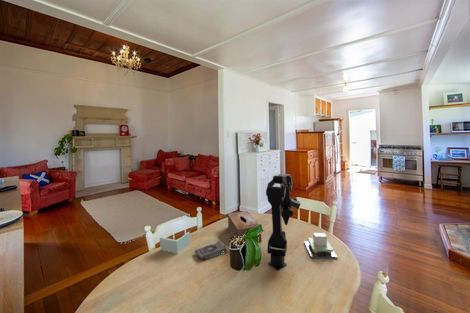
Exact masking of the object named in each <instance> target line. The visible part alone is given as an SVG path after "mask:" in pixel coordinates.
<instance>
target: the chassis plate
mask: <svg viewBox="0 0 470 313" xmlns="http://www.w3.org/2000/svg"><path fill="white" fill-rule="evenodd" d="M304 245H305V248H306V250H307V252H308V255H309V256H310V258H311V259H325V260H328V259H329V260H331V259H333V260H334V259H335V260H338V255H337V254H336V252H335V251H334V250H333V252H327V251H313V250H312V248H311V245H310V243H309V241H304Z"/></svg>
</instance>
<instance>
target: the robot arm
mask: <svg viewBox="0 0 470 313" xmlns="http://www.w3.org/2000/svg"><path fill="white" fill-rule="evenodd" d="M276 184H277V185H281V186H275V185H276ZM293 184H294V182H293V177H292V175H291V174H288V173H287V174H285V173H279V174H277V175H273V177H272V179H271V180H270V181H269V182H268V183H267V185H266V190H265V195H266V199H267V202H268V203H269V204H270V206H271V222H272V231H271V233H270V237H269V238H268V241H267V254H269V255H270V261H269V262H268V263H267V264H268V265H269V266H270V267H272V268H274V269H275V270H277V271H279V270H280V269H283V268H284V267H286V266H288V264H287V262H285V257H286V256H287V252H288V251H287V250H288V240H287V237H286V236H287V234H286V232H285V230H284V231H283V223H284V225H285V226H287V225H288V224H289V220H290V218H291V217H292V216H294V211H293V209H292V207H293V208H295V209H297V210H299V209H300V206H301V202H300V201H299V200H298V199H297V198H296V197H293V198H291V191H292V190H293Z"/></svg>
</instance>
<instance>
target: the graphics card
mask: <svg viewBox="0 0 470 313" xmlns="http://www.w3.org/2000/svg"><path fill="white" fill-rule="evenodd" d="M216 240H217V242H214V243H212V244H209V245H206V246H203V247H201V248H197V249H194V253H195V254H196V256H197V257H199V258H200V259H201V260H203V259H205V260H207V259H210V258H212V257H214V258H217V257H219V256H222V255H224V254H223V253H225V254H227V253H229V252H230V246H227V245H226V244H224V242H222V241H221V240H220V239H216ZM223 251H224V252H223ZM226 252H227V253H226ZM219 253H220V255H218V254H219ZM221 253H222V254H221Z"/></svg>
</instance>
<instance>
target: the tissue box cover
mask: <svg viewBox="0 0 470 313" xmlns="http://www.w3.org/2000/svg"><path fill="white" fill-rule="evenodd" d="M227 225H228V229H229V231H230V233H231V232H232V233H231V235H232V234H233V235H232V237H233V236H243V235H244V234H245V233H246V231H247V230H248V229H252V228H254V227H256V226H258V225H261V224H260V223H259V222H258V220H256V219H255V217H254V216H253V215H252V214H251V213H250V212H249V211H247V210H245V211H238V212H231V213H230V212H229V213H227ZM258 237H259V242H258V243H260V242H261V243H262V242H263V241H262V233H261V234H259V235H258Z"/></svg>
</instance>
